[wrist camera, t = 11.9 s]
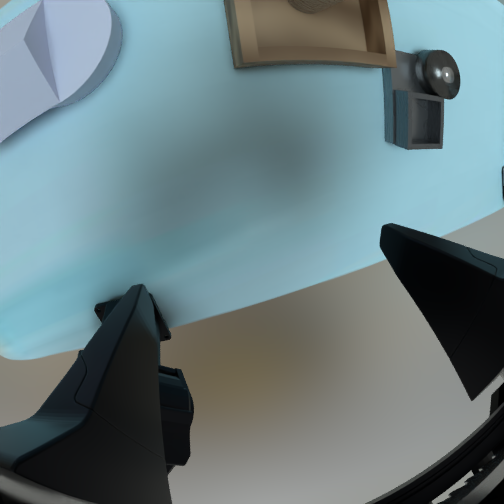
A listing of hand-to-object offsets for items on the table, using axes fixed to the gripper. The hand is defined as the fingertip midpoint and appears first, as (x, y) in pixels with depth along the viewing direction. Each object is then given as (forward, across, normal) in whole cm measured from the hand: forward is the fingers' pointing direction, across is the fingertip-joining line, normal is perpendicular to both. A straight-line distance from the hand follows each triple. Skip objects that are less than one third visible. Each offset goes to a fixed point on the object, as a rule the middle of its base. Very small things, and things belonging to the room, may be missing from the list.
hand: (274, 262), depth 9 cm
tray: (+13, -8, -14) cm, 20 cm away
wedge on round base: (+13, +12, -12) cm, 22 cm away
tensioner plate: (+13, -19, -5) cm, 24 cm away
